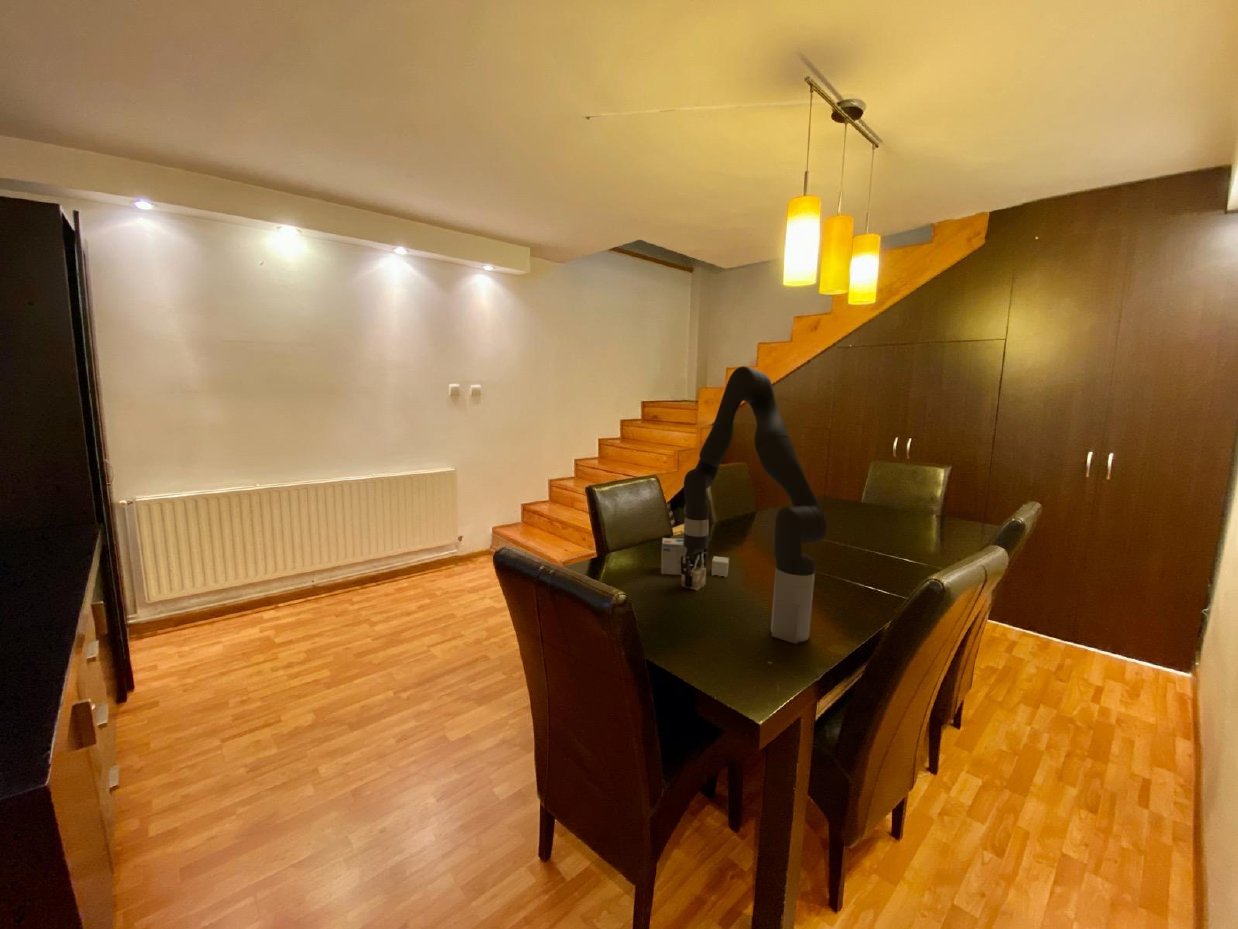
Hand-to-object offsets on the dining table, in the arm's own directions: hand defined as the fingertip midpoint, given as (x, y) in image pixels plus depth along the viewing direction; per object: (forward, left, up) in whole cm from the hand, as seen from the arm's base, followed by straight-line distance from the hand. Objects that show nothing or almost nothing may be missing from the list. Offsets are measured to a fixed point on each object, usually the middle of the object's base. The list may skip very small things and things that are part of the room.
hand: (693, 583), depth 156 cm
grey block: (+15, -2, -1) cm, 15 cm away
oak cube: (0, 0, -1) cm, 1 cm away
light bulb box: (+7, +10, -1) cm, 12 cm away
